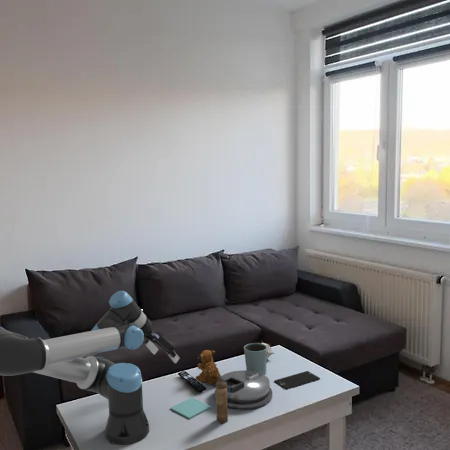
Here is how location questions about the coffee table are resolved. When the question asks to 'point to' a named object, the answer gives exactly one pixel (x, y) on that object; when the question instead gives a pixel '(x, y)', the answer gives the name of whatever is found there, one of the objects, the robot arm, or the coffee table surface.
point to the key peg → (221, 402)
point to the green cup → (256, 357)
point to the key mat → (190, 408)
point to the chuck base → (249, 406)
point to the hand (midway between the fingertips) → (166, 356)
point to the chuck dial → (246, 386)
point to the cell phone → (296, 380)
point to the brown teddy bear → (208, 368)
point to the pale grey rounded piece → (268, 350)
